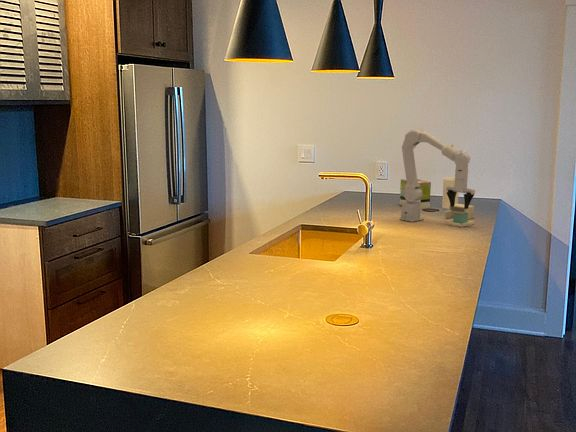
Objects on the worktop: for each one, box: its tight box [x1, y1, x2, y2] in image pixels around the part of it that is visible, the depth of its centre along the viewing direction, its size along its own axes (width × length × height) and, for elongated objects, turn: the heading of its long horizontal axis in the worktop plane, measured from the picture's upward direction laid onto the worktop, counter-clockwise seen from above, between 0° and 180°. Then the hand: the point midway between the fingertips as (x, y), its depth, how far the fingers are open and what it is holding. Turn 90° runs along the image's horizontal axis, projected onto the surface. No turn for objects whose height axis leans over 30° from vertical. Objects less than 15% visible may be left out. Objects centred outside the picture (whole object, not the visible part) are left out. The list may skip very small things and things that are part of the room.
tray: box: [445, 219, 475, 228], centre depth 312 cm, size 11×9×2 cm
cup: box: [441, 177, 459, 210], centre depth 356 cm, size 8×8×16 cm
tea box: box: [399, 178, 432, 210], centre depth 357 cm, size 15×10×15 cm, turn 25°
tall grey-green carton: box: [452, 212, 469, 224], centre depth 311 cm, size 6×4×5 cm, turn 132°
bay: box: [443, 203, 475, 220], centre depth 327 cm, size 12×10×6 cm
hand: (459, 207), depth 309 cm, fingers open, 7 cm apart
